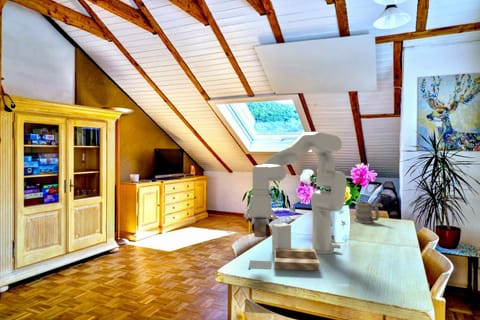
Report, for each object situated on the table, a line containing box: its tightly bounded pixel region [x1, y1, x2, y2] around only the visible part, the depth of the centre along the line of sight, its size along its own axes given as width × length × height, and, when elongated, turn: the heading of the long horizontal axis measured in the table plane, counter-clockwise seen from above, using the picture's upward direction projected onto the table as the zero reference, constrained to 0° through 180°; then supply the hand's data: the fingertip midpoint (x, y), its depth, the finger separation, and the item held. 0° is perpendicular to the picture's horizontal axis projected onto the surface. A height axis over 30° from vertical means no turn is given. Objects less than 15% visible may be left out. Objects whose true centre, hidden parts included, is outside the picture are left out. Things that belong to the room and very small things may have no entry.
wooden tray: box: [273, 247, 321, 271], centre depth 151 cm, size 19×20×5 cm
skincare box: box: [271, 222, 292, 253], centre depth 169 cm, size 8×6×15 cm
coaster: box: [248, 259, 272, 270], centre depth 150 cm, size 10×10×1 cm
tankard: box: [353, 201, 384, 224], centre depth 242 cm, size 20×13×15 cm, turn 43°
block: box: [253, 218, 267, 238], centre depth 150 cm, size 5×7×8 cm
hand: (260, 232), depth 150 cm, fingers closed on block, 5 cm apart
